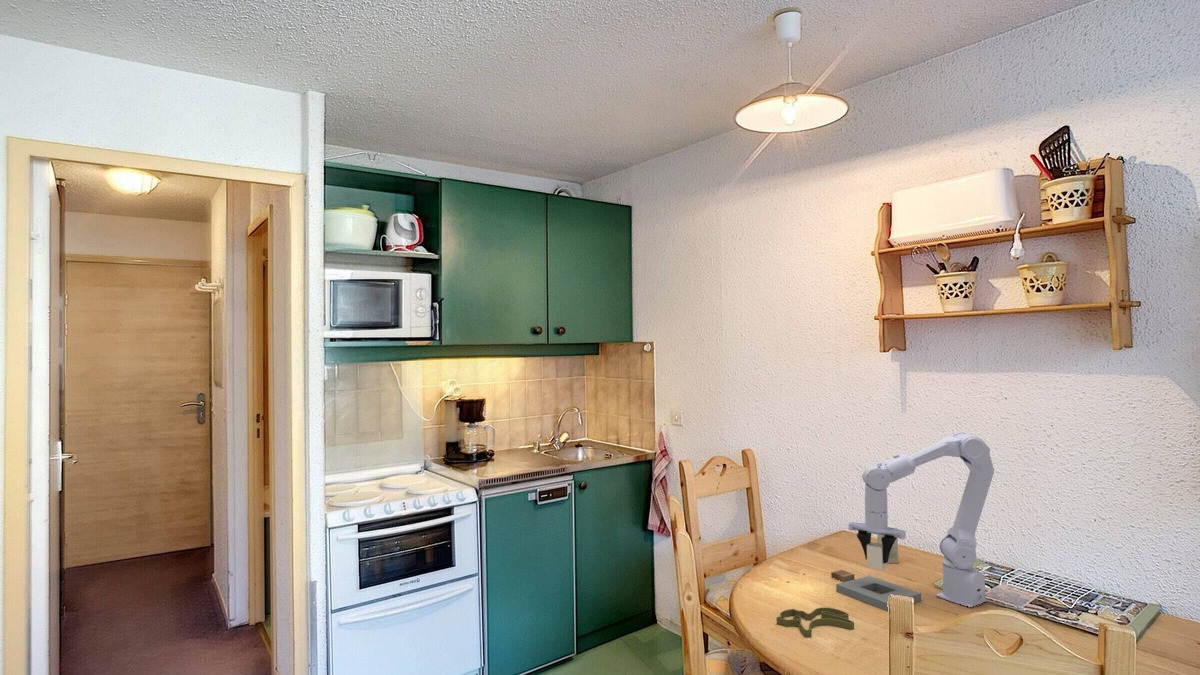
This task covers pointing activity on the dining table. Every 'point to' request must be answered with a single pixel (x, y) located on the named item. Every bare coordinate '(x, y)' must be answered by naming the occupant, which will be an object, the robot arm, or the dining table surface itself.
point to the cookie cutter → (827, 619)
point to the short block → (842, 575)
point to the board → (866, 585)
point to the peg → (875, 556)
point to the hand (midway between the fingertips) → (876, 560)
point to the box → (894, 550)
